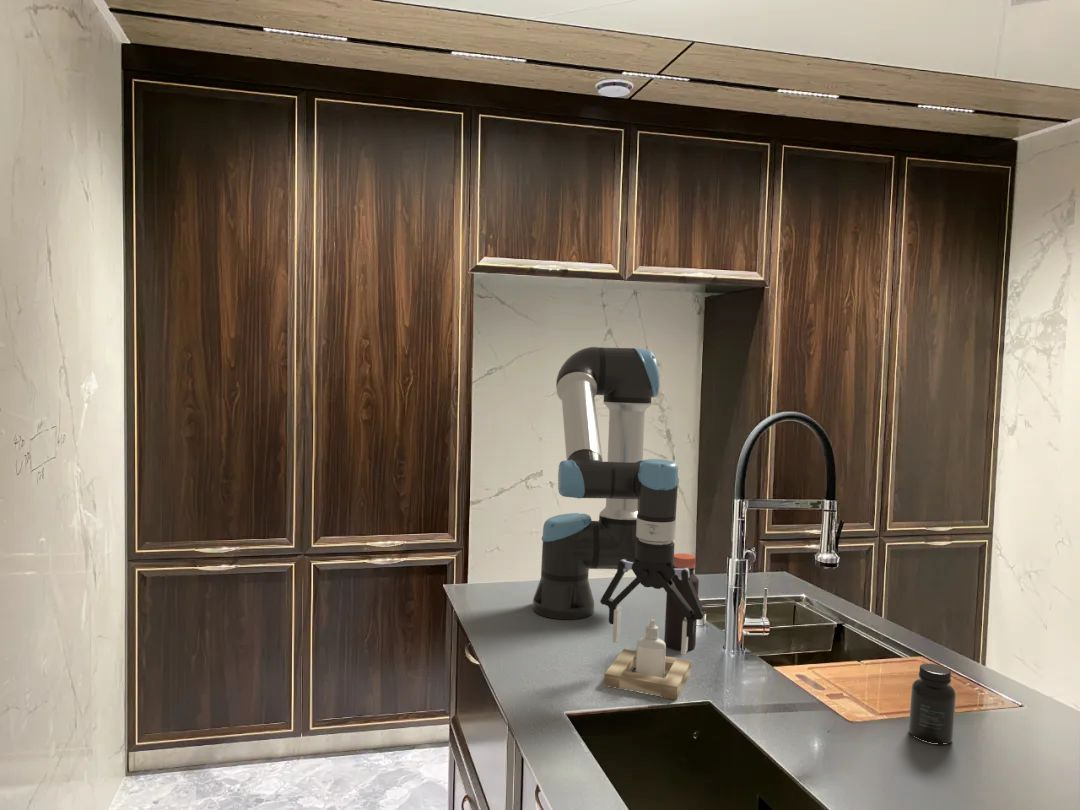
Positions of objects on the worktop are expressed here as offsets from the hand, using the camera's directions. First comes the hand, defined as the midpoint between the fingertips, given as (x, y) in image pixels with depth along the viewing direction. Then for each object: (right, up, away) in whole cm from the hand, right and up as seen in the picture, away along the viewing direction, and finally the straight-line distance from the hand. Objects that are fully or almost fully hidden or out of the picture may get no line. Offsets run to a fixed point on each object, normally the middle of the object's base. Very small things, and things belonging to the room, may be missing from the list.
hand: (649, 646), depth 159 cm
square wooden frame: (0, -7, 0) cm, 7 cm away
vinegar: (+9, -6, +19) cm, 22 cm away
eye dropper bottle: (0, -7, 0) cm, 7 cm away
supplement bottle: (+46, -10, -19) cm, 51 cm away
